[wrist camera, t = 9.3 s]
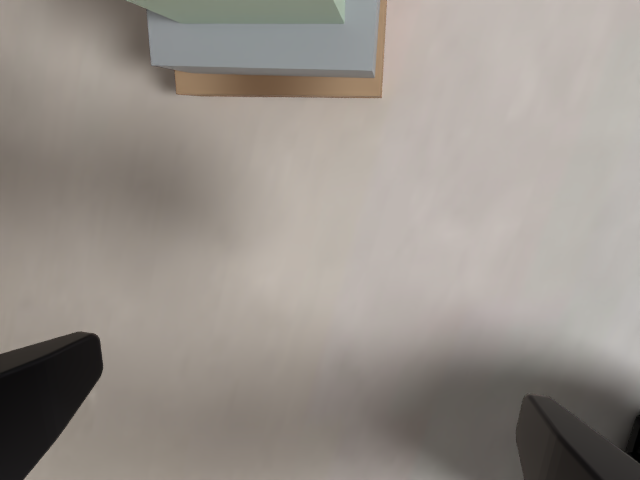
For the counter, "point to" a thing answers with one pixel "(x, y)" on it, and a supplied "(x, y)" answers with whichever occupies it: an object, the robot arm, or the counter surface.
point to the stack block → (248, 11)
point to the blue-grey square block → (270, 46)
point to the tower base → (288, 80)
